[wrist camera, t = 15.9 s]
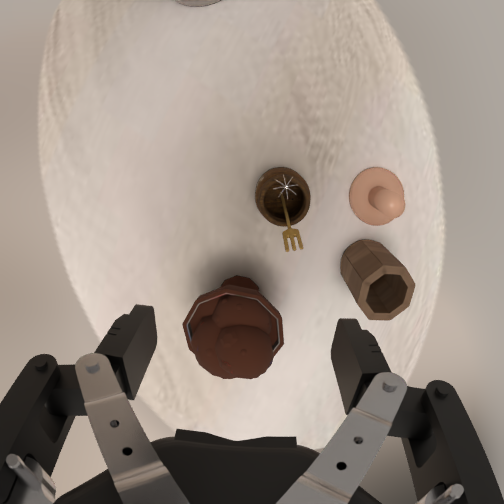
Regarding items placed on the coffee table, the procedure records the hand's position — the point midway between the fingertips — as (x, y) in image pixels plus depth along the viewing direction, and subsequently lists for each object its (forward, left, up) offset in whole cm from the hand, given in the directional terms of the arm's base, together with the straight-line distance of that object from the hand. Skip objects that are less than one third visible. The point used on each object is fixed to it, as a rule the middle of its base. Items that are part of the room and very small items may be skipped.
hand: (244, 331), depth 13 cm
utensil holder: (-2, +3, -26) cm, 26 cm away
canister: (+6, +15, -26) cm, 31 cm away
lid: (-3, +15, -26) cm, 30 cm away
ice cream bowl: (+12, -1, -26) cm, 29 cm away
